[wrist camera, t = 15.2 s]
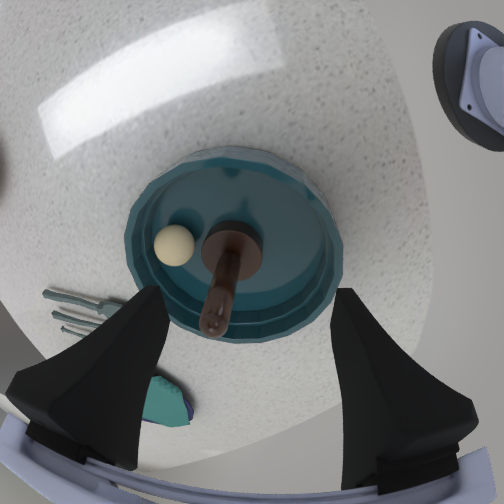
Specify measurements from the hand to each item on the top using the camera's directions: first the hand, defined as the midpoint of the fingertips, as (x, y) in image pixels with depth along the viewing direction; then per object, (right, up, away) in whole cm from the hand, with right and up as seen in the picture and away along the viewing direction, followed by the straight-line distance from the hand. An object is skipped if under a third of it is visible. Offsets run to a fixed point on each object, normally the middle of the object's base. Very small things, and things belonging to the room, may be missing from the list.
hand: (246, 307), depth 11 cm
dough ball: (-5, +3, +9) cm, 11 cm away
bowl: (-1, +3, +11) cm, 11 cm away
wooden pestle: (-1, +3, +10) cm, 11 cm away
